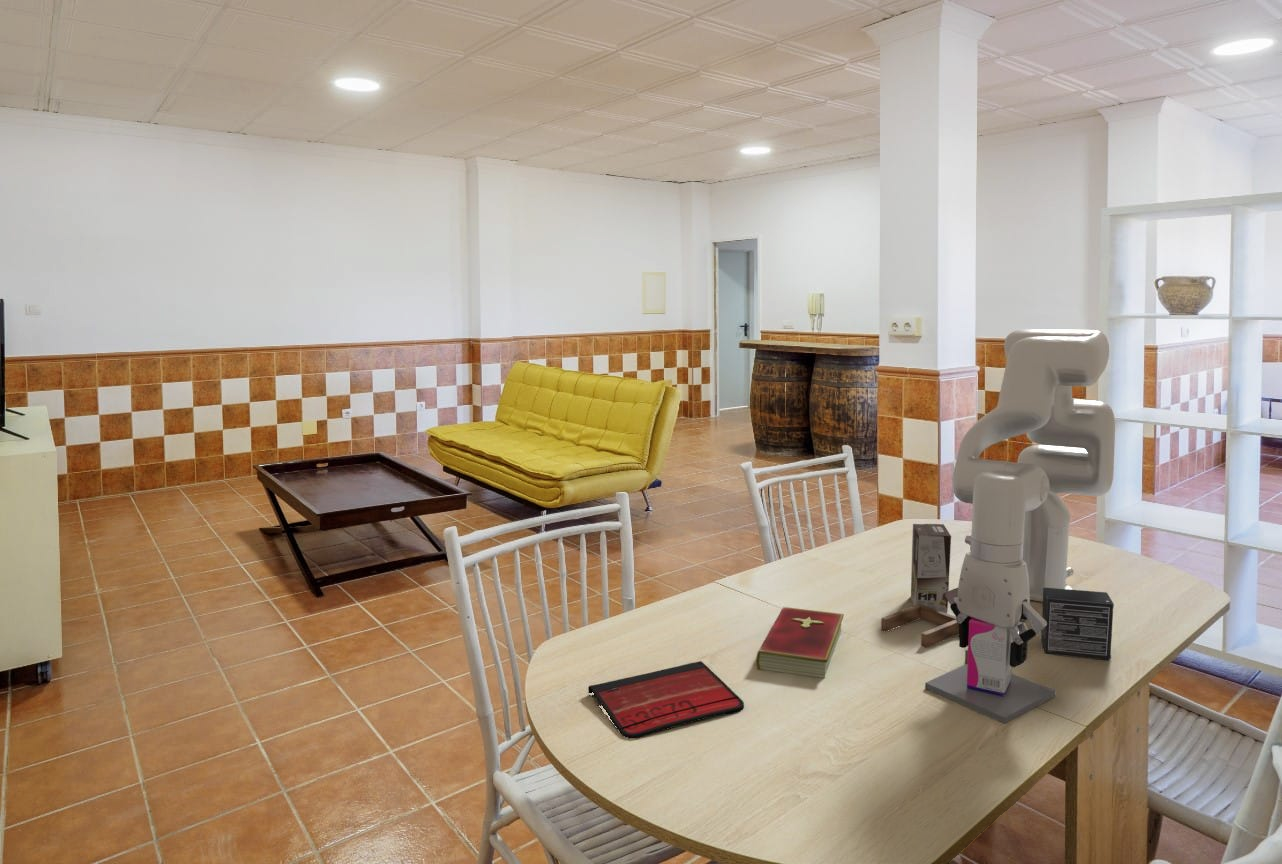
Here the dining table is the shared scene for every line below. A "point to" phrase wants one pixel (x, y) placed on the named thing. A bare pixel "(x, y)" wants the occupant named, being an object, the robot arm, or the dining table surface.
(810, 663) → the hardcover book
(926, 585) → the coffee box
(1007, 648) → the supplement box
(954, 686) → the slate board
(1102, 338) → the robot arm
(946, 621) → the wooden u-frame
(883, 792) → the dining table surface
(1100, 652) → the small box
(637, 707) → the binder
